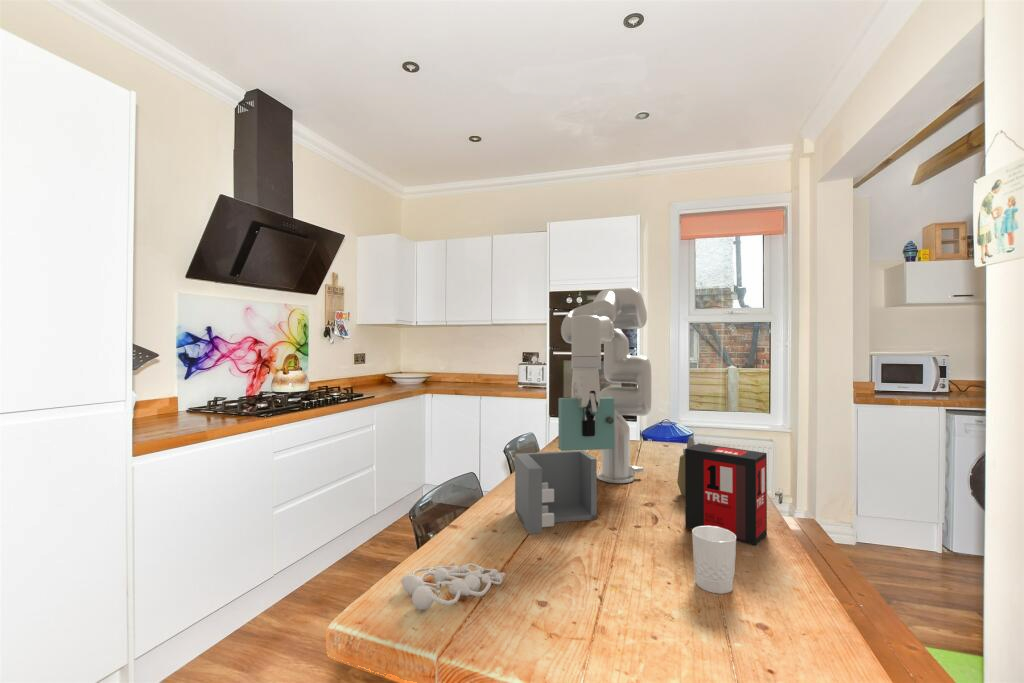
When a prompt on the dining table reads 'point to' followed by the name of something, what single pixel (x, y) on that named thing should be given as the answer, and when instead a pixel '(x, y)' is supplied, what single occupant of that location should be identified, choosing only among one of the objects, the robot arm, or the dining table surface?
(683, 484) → the squeeze bottle
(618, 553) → the dining table surface
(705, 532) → the white cup
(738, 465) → the cleaning product box
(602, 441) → the cabinet door
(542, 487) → the cabinet
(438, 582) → the tangled rod sculpture
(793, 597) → the dining table surface
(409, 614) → the dining table surface
